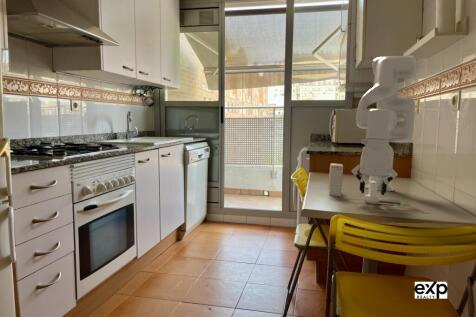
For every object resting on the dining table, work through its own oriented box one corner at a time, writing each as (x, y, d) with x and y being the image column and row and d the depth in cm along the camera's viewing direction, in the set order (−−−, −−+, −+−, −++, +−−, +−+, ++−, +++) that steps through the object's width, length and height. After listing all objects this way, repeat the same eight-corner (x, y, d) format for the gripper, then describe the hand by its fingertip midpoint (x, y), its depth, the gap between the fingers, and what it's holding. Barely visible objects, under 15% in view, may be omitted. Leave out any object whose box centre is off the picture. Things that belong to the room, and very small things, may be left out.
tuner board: (342, 199, 140) (342, 196, 140) (391, 200, 142) (391, 197, 142) (370, 216, 116) (370, 212, 116) (429, 217, 118) (429, 213, 118)
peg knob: (365, 204, 128) (367, 183, 127) (363, 200, 135) (365, 180, 134) (401, 207, 125) (403, 186, 125) (397, 203, 132) (399, 182, 131)
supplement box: (341, 199, 142) (343, 165, 140) (328, 198, 143) (331, 165, 141) (339, 195, 150) (342, 163, 148) (327, 194, 151) (329, 162, 149)
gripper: (352, 143, 127) (348, 193, 129) (405, 145, 123) (400, 197, 125) (350, 142, 134) (346, 189, 136) (400, 144, 130) (396, 193, 132)
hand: (372, 193), depth 131 cm, fingers open, 6 cm apart
